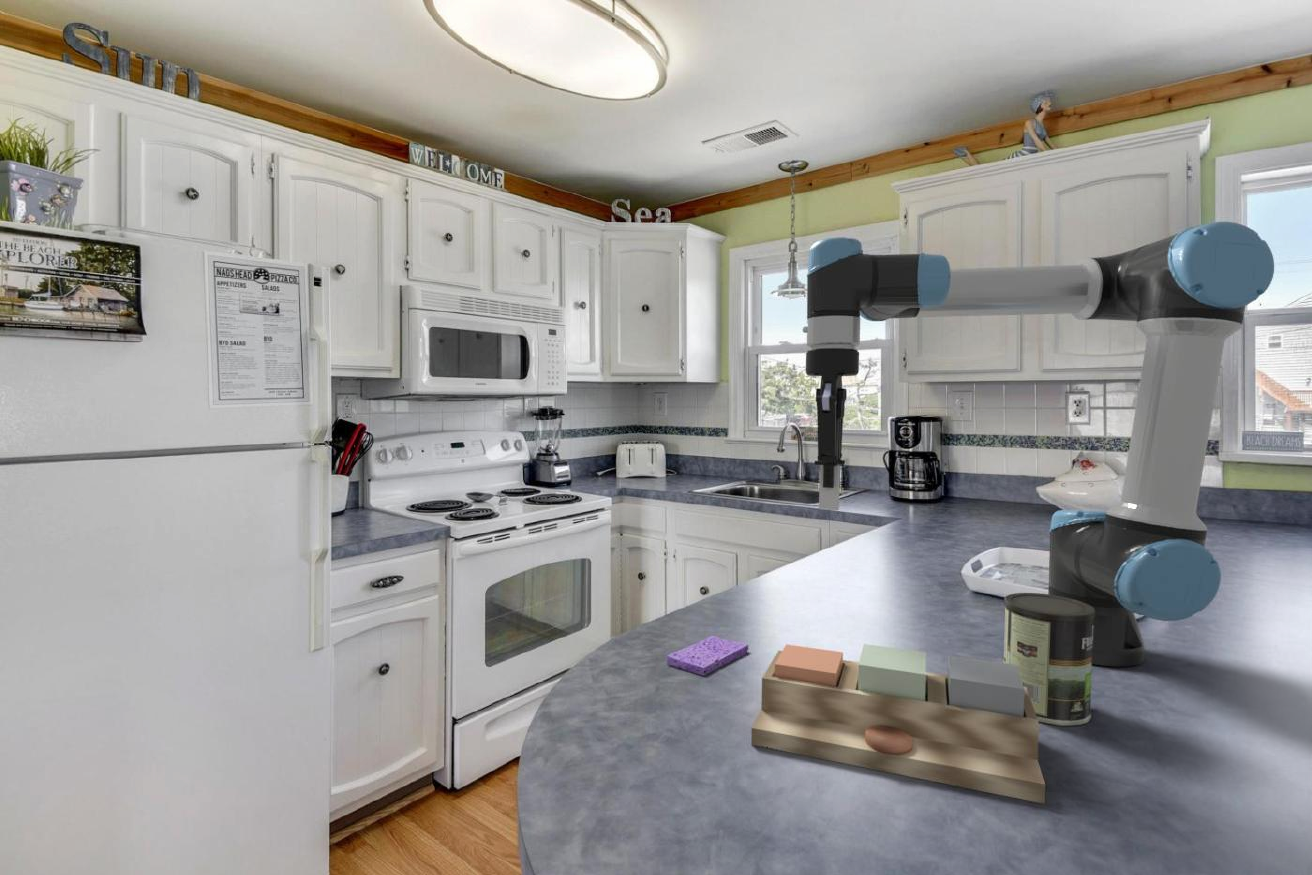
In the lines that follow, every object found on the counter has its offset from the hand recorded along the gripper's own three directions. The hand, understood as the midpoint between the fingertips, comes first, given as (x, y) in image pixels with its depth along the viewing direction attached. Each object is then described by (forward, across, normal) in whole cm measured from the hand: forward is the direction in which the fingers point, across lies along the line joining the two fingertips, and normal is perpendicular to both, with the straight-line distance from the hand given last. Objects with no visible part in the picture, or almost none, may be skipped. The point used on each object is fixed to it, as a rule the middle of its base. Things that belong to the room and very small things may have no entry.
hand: (828, 508), depth 99 cm
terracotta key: (+22, +16, 0) cm, 27 cm away
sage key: (+20, +16, +10) cm, 28 cm away
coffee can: (+25, +1, +28) cm, 38 cm away
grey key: (+20, +16, +20) cm, 33 cm away
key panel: (+24, +18, +10) cm, 32 cm away
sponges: (+25, +2, -18) cm, 31 cm away
